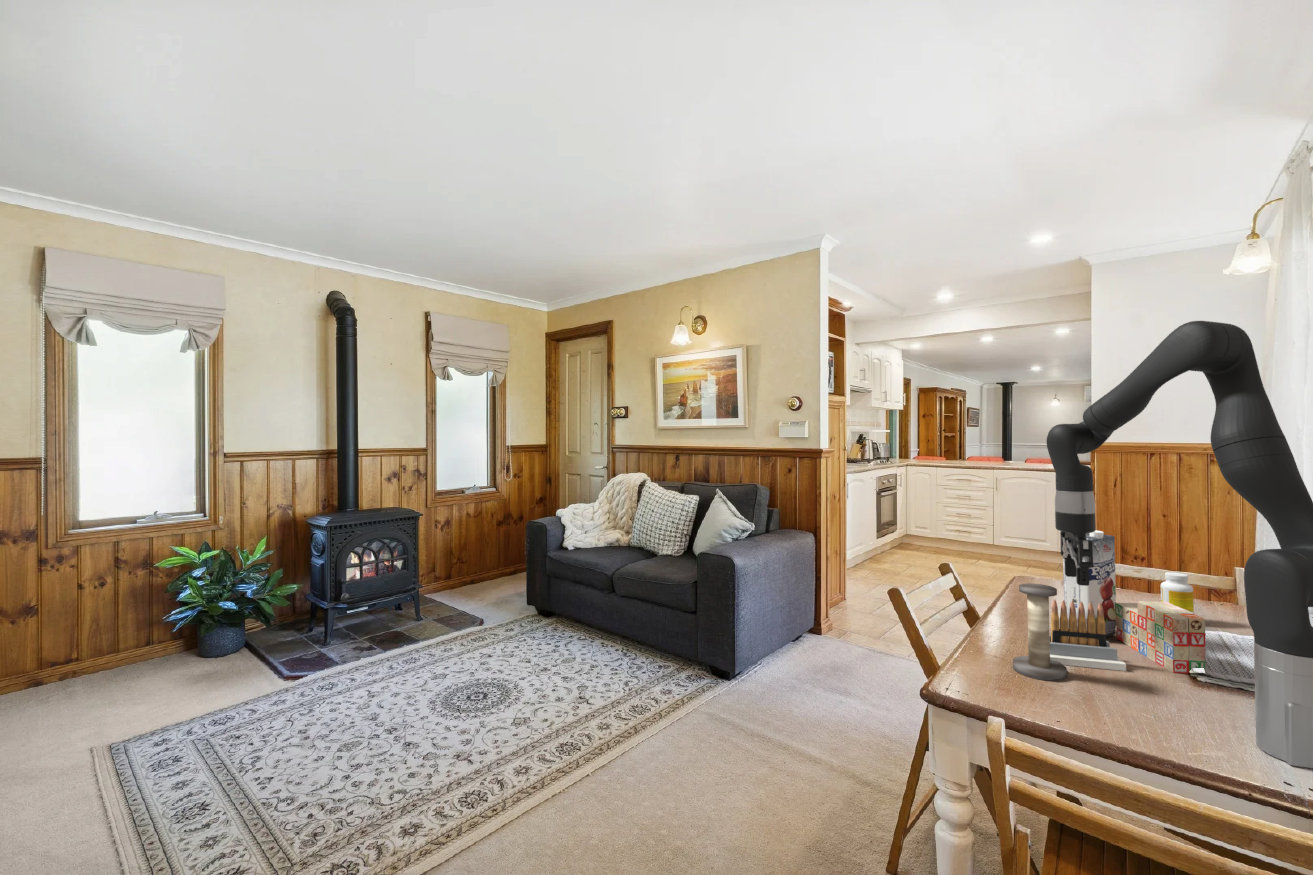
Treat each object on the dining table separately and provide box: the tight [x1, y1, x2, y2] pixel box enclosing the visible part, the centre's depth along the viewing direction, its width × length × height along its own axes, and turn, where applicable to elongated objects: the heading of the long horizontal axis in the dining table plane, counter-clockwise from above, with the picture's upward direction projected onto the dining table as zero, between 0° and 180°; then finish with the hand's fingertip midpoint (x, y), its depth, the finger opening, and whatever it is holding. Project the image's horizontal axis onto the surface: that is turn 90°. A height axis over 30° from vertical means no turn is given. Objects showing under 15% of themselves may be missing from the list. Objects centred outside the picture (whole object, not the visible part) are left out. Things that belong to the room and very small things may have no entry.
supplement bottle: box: [1160, 571, 1195, 614], centre depth 158 cm, size 7×7×13 cm
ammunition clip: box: [1050, 599, 1107, 647], centre depth 134 cm, size 11×2×12 cm, turn 69°
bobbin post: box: [1012, 582, 1068, 682], centre depth 128 cm, size 10×10×18 cm
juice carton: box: [1062, 529, 1117, 638], centre depth 149 cm, size 9×10×27 cm
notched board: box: [1050, 640, 1127, 672], centre depth 134 cm, size 9×15×4 cm, turn 69°
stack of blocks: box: [1115, 600, 1207, 675], centre depth 135 cm, size 21×6×12 cm, turn 169°
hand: (1076, 580), depth 134 cm, fingers open, 8 cm apart
